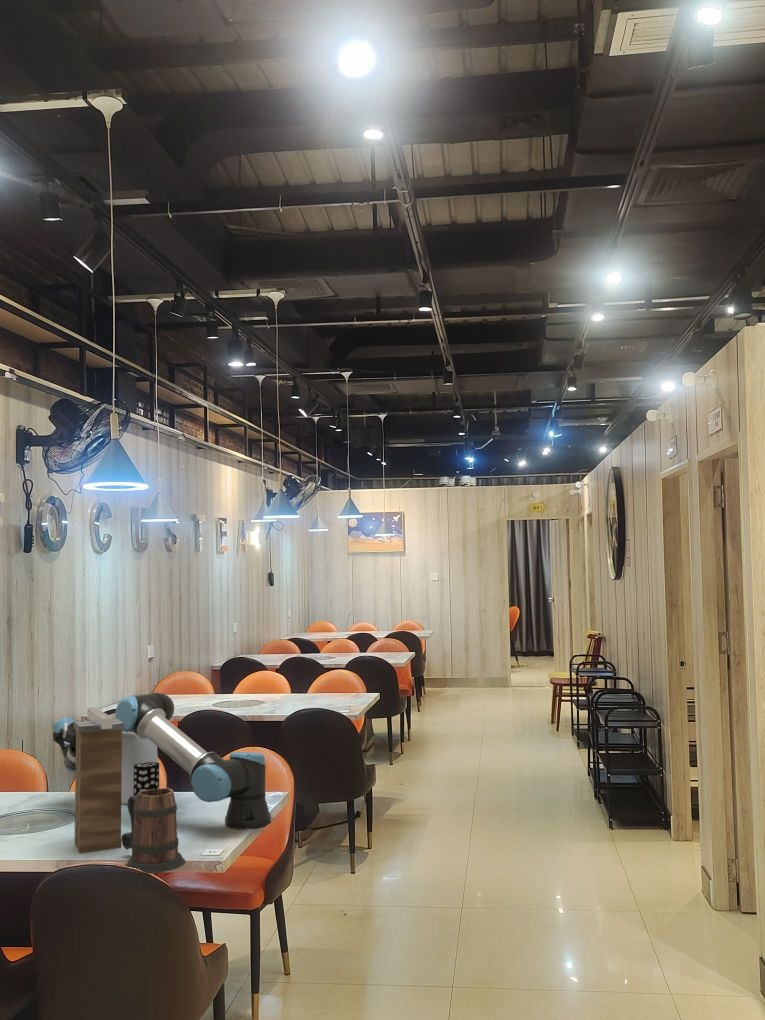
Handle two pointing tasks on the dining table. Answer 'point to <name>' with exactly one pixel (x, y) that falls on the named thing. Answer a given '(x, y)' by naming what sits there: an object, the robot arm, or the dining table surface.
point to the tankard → (153, 832)
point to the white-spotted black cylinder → (146, 776)
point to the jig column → (98, 786)
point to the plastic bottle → (134, 760)
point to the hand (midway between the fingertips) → (87, 724)
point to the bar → (99, 718)
